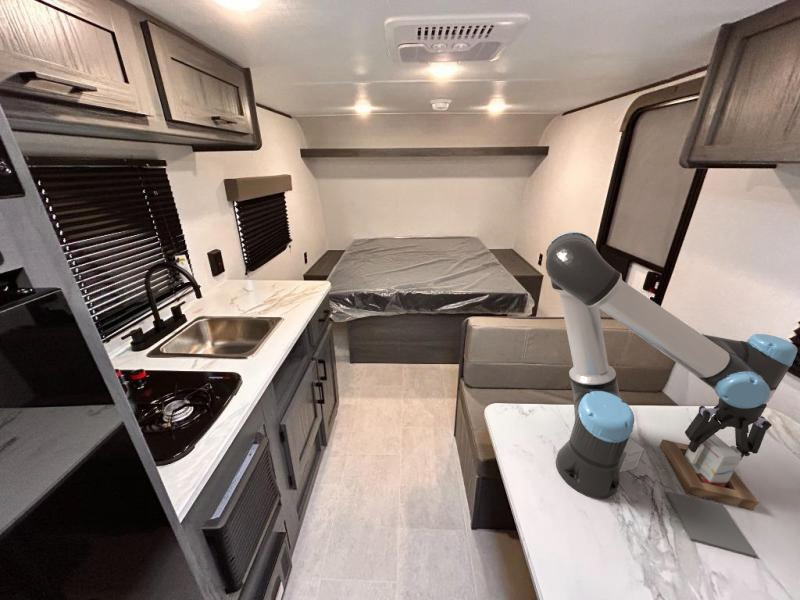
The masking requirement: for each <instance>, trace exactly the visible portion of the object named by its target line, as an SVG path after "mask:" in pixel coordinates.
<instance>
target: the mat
mask: <svg viewBox="0 0 800 600" xmlns="http://www.w3.org/2000/svg"><path fill="white" fill-rule="evenodd" d="M665 493H666V495H667V498H668V499H669V501H670V503H671V505H672V507H673V509H674V511H675V513H676V514H677V517H678V519H679V521H680V523H681V525H682V526H683V528H684V531H685V532H686V534H687V537H688V539H689V540H690V541H692V542H696V543H699V544H700V543H701V544H703V545H704V544H705V545H708V546H711V547H714V548H719V549H722V550H725V551H729V552H733V553H737V554H741V555H744V556H748V557H752V558H757V557H758V556H757V554H756V553H755V551H754V550H753V547H752V546H751V544H750V543H749V542H748V540H747V539H746V537H745V536H744V534H743V533H742V532H741V529H740V528H739V527H738V525H737V524H736V522H735V520H734V519H733V518H732V516H731V515H730V513H729V511H728V510H727V509H726V507H725V505H724V503H720V502H716V501H712V500H707V499H703V498H699V497H695V496H691V495H687V494H686V495H685V494H681V493H676V492H673V491H670V490H666V491H665Z"/></svg>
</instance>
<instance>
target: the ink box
mask: <svg viewBox="0 0 800 600" xmlns="http://www.w3.org/2000/svg"><path fill="white" fill-rule="evenodd" d="M703 445H704V448H703V450H702V452H701V454H700V456H699V458H698V460H697V462H696V463H695V464H692V463H691V461H690V460H689V458H688V457H687V454H688V452H689V450H690V449H689V448H688V450H687V452H686V454H685V458H686V459H687V461H688V463H689V464H690V466H691V467H692V469H693V470H694V472H695V473H696V475H697V476H698V478H699V480H700V481H701V482H702V483H707V484H711V485H715V486H720V487H724V488H725V486H726V484H727V483H728V481H729V479H730V477H731V476H732V474H733V472H734V471H735V470H736V469H737V467H738V465H739V464H740V462H741V461H742V459H743V457H741V456H740V455H739V454H738V453H736V452H735V451H734V450H733V449H732V448H730V446H729V445H728V444H727V443H726V442H724V441H723V440H722V439H721V438H720V437H719V436H717V435H716V433H715V434H714V435H712V436H711V437H710V438H708V439H707V440H706V441H705V442H703ZM741 458H742V459H741ZM740 460H741V461H740Z"/></svg>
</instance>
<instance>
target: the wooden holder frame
mask: <svg viewBox="0 0 800 600" xmlns="http://www.w3.org/2000/svg"><path fill="white" fill-rule="evenodd" d="M659 444H660V445H659V449H660V451H661V453H662V454H663V456H664V457H665V460H666V461H667V463H668V464H669V467H670V468H671V469H672V471H673V474H674V475H675V477H676V479H677V480H678V482H679V483H680V486H681V487H682V489H683V491H684V493H685V494H686V496H690V497H694V498H698V499H702V500H706V501H711V502H715V503H719V504H723V505H724V504H725V505H729V506H733V507H737V508H740V509H741V508H742V509H745V510H750V511H754V510H755V509H756V508H757V506H758V505H759V503H760V502H759V500H758V499H757V498H756V497H755V495H754V494H753V492H751V490H750V489H749V488H748V486H747V485H746V484H745V482H744V481H743V480H742V479H741V477H740V476H739V475H738V473H737V472H736V471H735V470H734V472H733V474H732V476H731V477H730V479H729V481H728V483H727V484H726V486H725V488H724V487H720V486H715V485H711V484H707V483H702V482H701V481H700V480H699V478H698V476H697V475H696V473H695V472H694V470H693V469H692V467H691V466H690V464H689V463H688V461H687V459H686V458H685V454H686V452H687V450H688V445H689V444H686V443H680V442H676V441H672V440H668V439H662V440H661V442H660V443H659Z"/></svg>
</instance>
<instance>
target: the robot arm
mask: <svg viewBox="0 0 800 600" xmlns="http://www.w3.org/2000/svg"><path fill="white" fill-rule="evenodd" d="M546 249H547V250H546V253H545V257H546V259H545V270H546V273H547V275H548V277H549V279H550V284H551V287H552V290H554V291H555V292H557V293H559V297H560V303H561V307H562V314H563V318H564V324H565V330H566V332H567V333H566V334H567V339H568V340H567V341H568V344H569V349H570V355H571V360H572V365H573V367H571V368H570V370H569V371H568V372H569V373H568V374H569V379H570V386H571V390H572V395H573V407H574V408H573V410H574V422H573V426H572V430H571V433H570V436H569V440H568V441H567V442H565V444H564V445H562V447H561V448H560V449H559V450H558V452H557V454H556V458H555V467H556V470H557V471H558V472H557V473H558V474H559V476H560V477H561V478H562V479H563V481H564V482H565V483H566V484H568V485H569V486H570V487H571V488H572V489H574V490H575V491H576V492H579V493H581V494H583V495H585V496H587V497H591V498H593V499H599V500H600V499H601V500H602V499H609V498H611V497H614V496H615V495H616V494H617V492H618V489H619V487H620V483H621V482H620V481H621V476H620V472H619V466H618V463H619V461H620V458H621V456H622V454H623V451H624V449H625V446H626V444H627V441H628V439H629V438H630V436H631V435H632V433H633V430H634V427H635V425H634V424H635V415H634V412H633V410H632V408H631V407H630V405H629V404H628V403H626V402H623V401H624V400H623V399H622V398H621V395H620V391H619V390H620V389H619V383H618V377H617V372H616V370H615V368H614V367H612V366H611V365H609V361H608V356H607V349H606V343H605V338H604V331H603V325H602V319H601V312H600V311H602V312H603V313H605V314H607V315H608V316H609V317H610V318H612V319H613V320H615V321H616V322H617V323H619V324H621V325H622V326H623V327H625V328H626V329H628V330H630V331H631V332H632V333H633V334H635V335H637V336H638V337H640V338H641V339H642V340H644V341H645V342H646V343H648V344H650V345H651V346H652V347H654V348H655V349H657V350H658V351H660V352H661V353H662V354H663V355H665V356H666V357H668V358H670V359H671V360H672V361H674V362H675V363H677V364H678V365H680V366H681V367H682V368H683V369H684V370H685V369H686V371H688V372H689V373H691V374H693V375H694V376H695V377H696V378H698V379H699V380H700V381H702V382H704V384H706V385H708V386H709V387H710V388H712V389H713V390H714V391H715V394H716V395H717V396H718V397H719V398H718V404H716V405H715V406H714V407H713V408H712V407H711V408H708V407H706V406H704V405H700V406H699V407H698V412H697V414H696V415H695V417H694V418H693V420H692V421H691V422H690V424H689V425H688V427H687V428H686V430H685V431H684V434H685V436H686V437H687V439H689V443H688V444H687V445H688V448H689V449H690V450H689V452H688V454H687V457H688V458H689V460H690V461H691V463H692V464H695V463H696V462H697V460H698V458H699V456H700V454H701V452H702V450H703V448H704V445H703V442H705V441H706V440H707V439H708V438H710V437H711V436H712V435H714V434H715V435H716V434H717V433H718V432H719V431H721V430H724V429H726V428H734V436H735V445H733V444H731V445H730V446H729V447H730V448H732V449H733V450H734V451H735V452H736V453H738V454H739V455H740V456H741V457H742V458H741V460H740V461H739V462H741V461H742V460H743V458H744V456H745V457H749V456H750V455H751V453H752V454H758V453H759V450H760V449H761V445H762V442H763V440H764V437H765V435H766V432H767V431H768V430H769V429H770V428H771V427H772V423H771V422H770V421H769V420H767V418H766V417H765V416H763V413H764V411H765V410H766V408H767V406H768V403H769V402H770V401H771V399H772V397H773V396H774V394H775V393H776V391H777V389H778V387H779V385H780V384H781V382H782V380H784V377H785V376H786V374H787V372H788V371H789V369H790V368H791V367H792V365H793V362H794V360H795V358H796V356H797V353H798V347H797V346H796V345H795V344H793V343H792V342H791V341H789V340H787V339H784V338H782V337H778V336H776V335H771V334H767V333H766V334H765V333H754V334H751V335H750V337H749V338H747V341H745V340H736V339H730V338H724V337H719V336H714V335H708V334H704V333H700V332H699V331H698V330H696V329H695V328H693V327H691V326H690V325H689V324H687V323H685V322H684V320H683V321H682V320H681V319H680V318H678V317H677V316H676V315H674V314H672V313H671V312H669V311H668V310H667V309H665V308H664V307H662V306H661V305H659V304H657V303H656V302H655V301H653V300H652V299H650V298H649V297H647V296H646V295H644V294H643V293H641V292H640V291H638V290H637V289H635V288H634V287H632V286H631V285H630V284H628V283H626V282H625V281H624V280H623V278H622V277H623V276H622V273H621V272H619V271H618V270H617V269H615V268H613V266H612V265H610V264H609V263H608V262H607V261H606V260H605V259H604V258H603V257H602V255H601V254H600V253H599V251H598V249H597V244H595V241H594V240H593V238H591V237H590V236H589V235H587V234H584V233H582V232H577V231H570V232H569V231H568V232H564V233H561V234H559V235H558V236H556V237H555V238H554V239H553V240H552V241H551V242H549V244H548V246H547V248H546ZM750 425H751V427H750ZM749 427H750V430H749Z"/></svg>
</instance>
